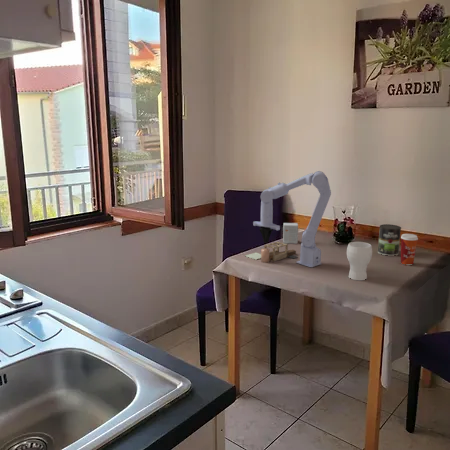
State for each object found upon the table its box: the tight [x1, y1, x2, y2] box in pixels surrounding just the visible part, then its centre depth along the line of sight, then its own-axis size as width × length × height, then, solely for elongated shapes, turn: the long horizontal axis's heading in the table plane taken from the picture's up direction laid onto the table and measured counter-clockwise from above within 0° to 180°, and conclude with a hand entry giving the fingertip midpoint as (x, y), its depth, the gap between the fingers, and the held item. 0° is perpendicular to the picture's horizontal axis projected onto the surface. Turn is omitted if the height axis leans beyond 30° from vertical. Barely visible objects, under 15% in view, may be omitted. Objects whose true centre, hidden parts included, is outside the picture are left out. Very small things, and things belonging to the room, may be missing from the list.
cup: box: [346, 241, 373, 281], centre depth 198 cm, size 11×11×15 cm
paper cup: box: [400, 233, 419, 265], centre depth 216 cm, size 8×8×14 cm
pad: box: [244, 252, 261, 261], centre depth 230 cm, size 8×8×1 cm
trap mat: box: [286, 255, 299, 260], centre depth 228 cm, size 4×4×1 cm
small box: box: [282, 222, 299, 245], centre depth 254 cm, size 8×6×10 cm
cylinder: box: [260, 248, 270, 264], centre depth 222 cm, size 4×4×6 cm
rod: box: [269, 249, 297, 261], centre depth 229 cm, size 2×18×2 cm, turn 121°
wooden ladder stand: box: [264, 241, 289, 262], centre depth 227 cm, size 6×10×7 cm, turn 131°
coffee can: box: [377, 223, 402, 257], centre depth 233 cm, size 10×10×14 cm
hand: (266, 242), depth 221 cm, fingers closed
